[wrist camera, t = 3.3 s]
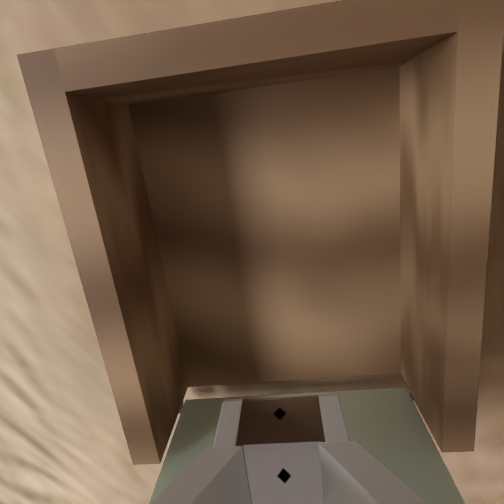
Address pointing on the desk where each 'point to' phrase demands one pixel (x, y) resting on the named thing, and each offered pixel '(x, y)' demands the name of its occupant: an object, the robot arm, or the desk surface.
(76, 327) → the desk surface
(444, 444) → the crate
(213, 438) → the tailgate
